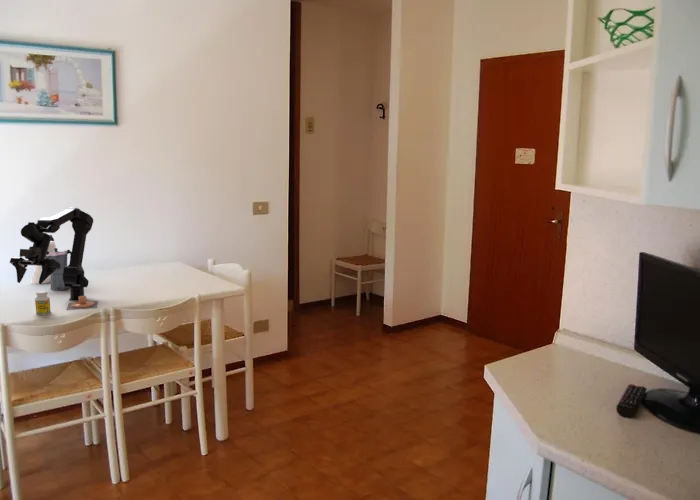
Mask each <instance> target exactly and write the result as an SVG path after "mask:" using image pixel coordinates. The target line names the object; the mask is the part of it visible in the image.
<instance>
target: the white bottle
mask: <svg viewBox="0 0 700 500" xmlns="http://www.w3.org/2000/svg"><path fill="white" fill-rule="evenodd" d="M55 248H57V246H56V243H55V240H54V241H50V244H49V248H48V252H49V253H52V252H55V250H54V249H55ZM41 272H42V266H36V265H35V267H34V270H33V275H32V277H31V282H30V283H31V284H32V285H40V284H39V279H40V275H41ZM43 283H44V284H49V283H51V275H49V276H48V277H47V278H46V279H45V280H44V281H43ZM43 283H42V284H43ZM42 284H41V285H42ZM44 284H43V285H44Z"/></svg>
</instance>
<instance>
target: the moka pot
mask: <svg viewBox="0 0 700 500" xmlns="http://www.w3.org/2000/svg"><path fill="white" fill-rule="evenodd" d="M54 250H55V252H52V253H49V255H46V257H45V259H54V260H56V261H57V262H59V263H60V269H59V270H56V272H53V273H52V274H51V282H50V290H52V291H63V290H68V289H70V287H65V285H64V282H63V276H62V275H63V271H64V267H67V266H68V254H70V257H69V260H70V259H71V253H72V250H70V249H66V250H63V251H59V250H58V248H57V247H56V248H55V249H54Z"/></svg>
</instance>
